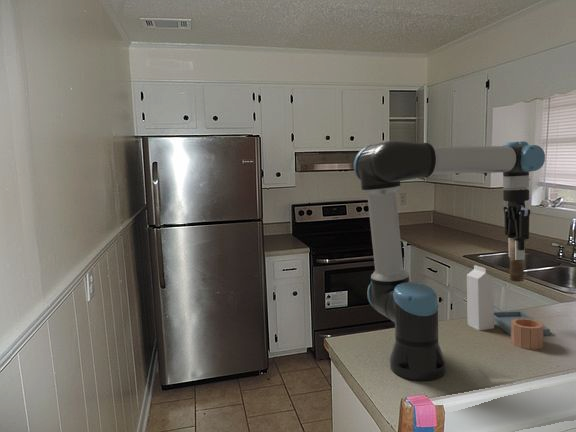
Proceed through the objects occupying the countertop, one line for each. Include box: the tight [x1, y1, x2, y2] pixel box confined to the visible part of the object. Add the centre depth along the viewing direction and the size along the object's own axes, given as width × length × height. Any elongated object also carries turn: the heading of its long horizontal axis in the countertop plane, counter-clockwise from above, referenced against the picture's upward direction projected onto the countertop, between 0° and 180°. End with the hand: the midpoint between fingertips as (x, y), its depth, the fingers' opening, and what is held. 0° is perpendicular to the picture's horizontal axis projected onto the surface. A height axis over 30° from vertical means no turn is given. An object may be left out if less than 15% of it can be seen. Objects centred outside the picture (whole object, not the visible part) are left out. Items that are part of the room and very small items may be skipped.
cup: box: [510, 318, 544, 350], centre depth 124 cm, size 8×8×8 cm
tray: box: [494, 310, 551, 337], centre depth 139 cm, size 12×18×3 cm, turn 176°
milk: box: [466, 264, 495, 331], centre depth 139 cm, size 6×6×22 cm
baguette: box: [509, 237, 525, 282], centre depth 137 cm, size 4×4×14 cm
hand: (516, 257), depth 137 cm, fingers closed on baguette, 4 cm apart
